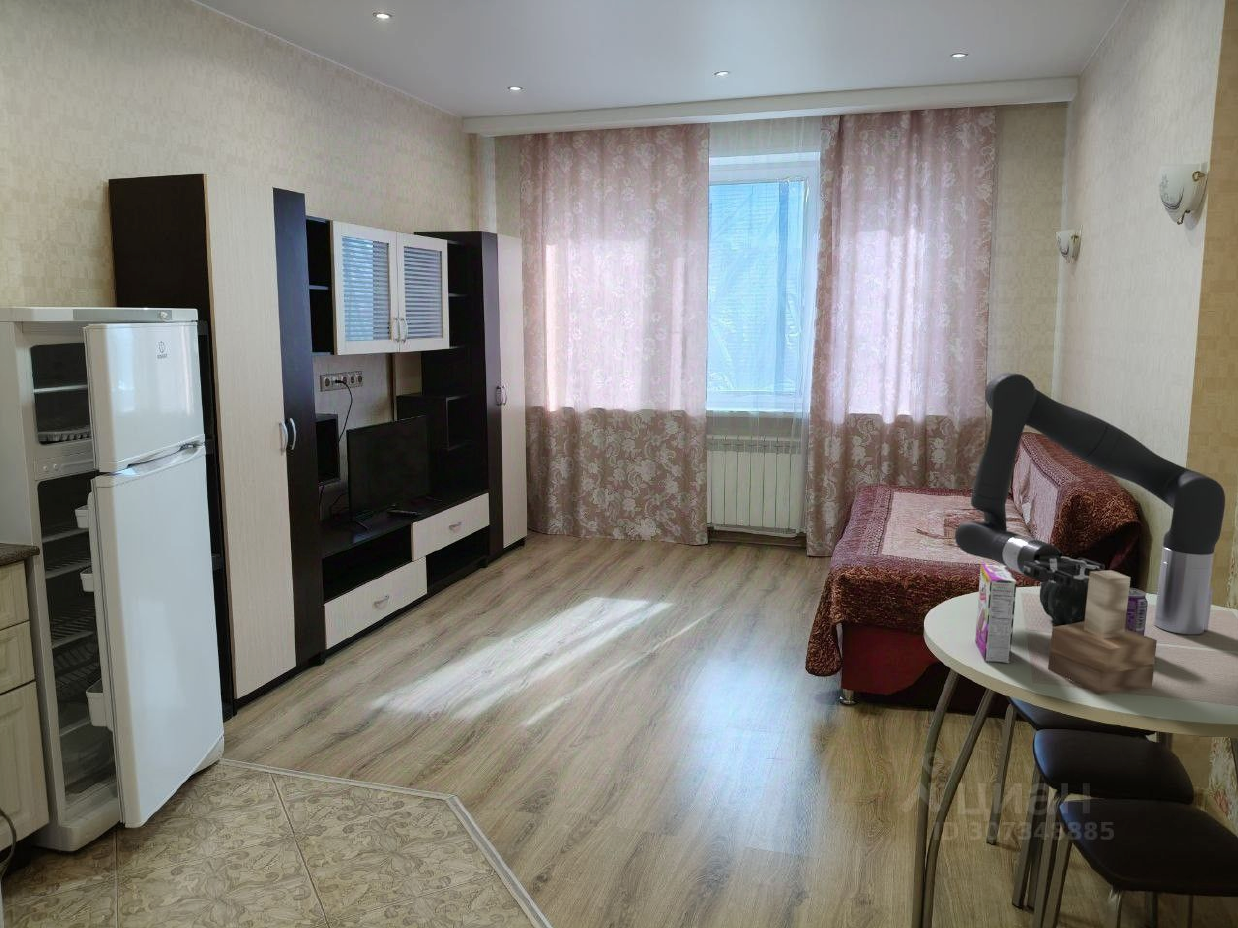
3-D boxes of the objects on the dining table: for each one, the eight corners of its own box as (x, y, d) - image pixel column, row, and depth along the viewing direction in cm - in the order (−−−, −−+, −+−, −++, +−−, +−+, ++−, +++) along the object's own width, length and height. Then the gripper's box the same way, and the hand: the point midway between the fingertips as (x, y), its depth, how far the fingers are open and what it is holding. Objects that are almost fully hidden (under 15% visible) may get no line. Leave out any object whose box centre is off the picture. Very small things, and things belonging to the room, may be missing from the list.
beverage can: (1138, 645, 187) (1145, 588, 185) (1145, 657, 181) (1152, 598, 179) (1099, 641, 190) (1105, 584, 188) (1104, 653, 183) (1111, 594, 181)
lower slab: (1098, 664, 178) (1101, 642, 177) (1151, 689, 167) (1154, 665, 166) (1047, 671, 174) (1049, 648, 174) (1098, 697, 163) (1101, 672, 162)
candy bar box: (973, 641, 188) (979, 563, 185) (999, 644, 187) (1006, 564, 184) (982, 662, 177) (990, 578, 174) (1010, 664, 176) (1018, 580, 173)
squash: (1107, 589, 206) (1067, 540, 204) (1143, 614, 192) (1100, 561, 189) (1054, 628, 208) (1014, 580, 206) (1085, 656, 194) (1043, 603, 192)
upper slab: (1095, 641, 178) (1097, 618, 177) (1154, 663, 167) (1156, 639, 166) (1050, 650, 173) (1052, 627, 172) (1107, 673, 162) (1110, 649, 161)
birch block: (1104, 627, 172) (1111, 570, 170) (1123, 636, 168) (1130, 577, 166) (1083, 629, 171) (1089, 571, 169) (1102, 638, 166) (1108, 578, 164)
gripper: (1003, 541, 185) (1061, 563, 170) (1063, 537, 189) (1125, 558, 173) (1000, 577, 186) (1057, 602, 171) (1059, 573, 190) (1121, 597, 175)
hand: (1091, 580), depth 172 cm, fingers open, 8 cm apart
